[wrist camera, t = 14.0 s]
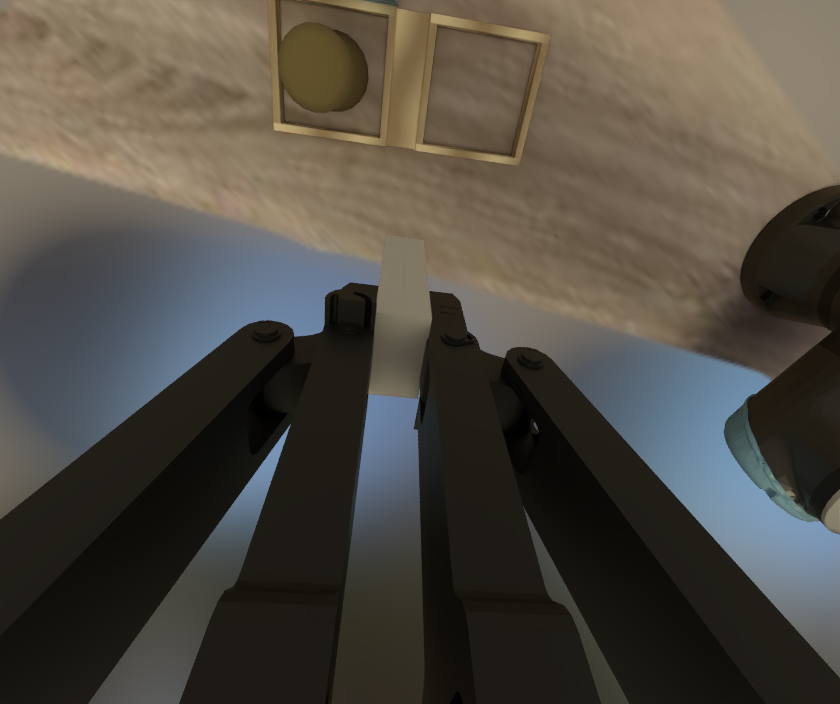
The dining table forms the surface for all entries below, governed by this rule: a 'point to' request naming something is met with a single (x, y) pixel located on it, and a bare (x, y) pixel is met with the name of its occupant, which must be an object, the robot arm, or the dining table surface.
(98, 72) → the dining table surface
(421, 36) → the caddy
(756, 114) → the dining table surface
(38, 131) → the dining table surface
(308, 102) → the cork
